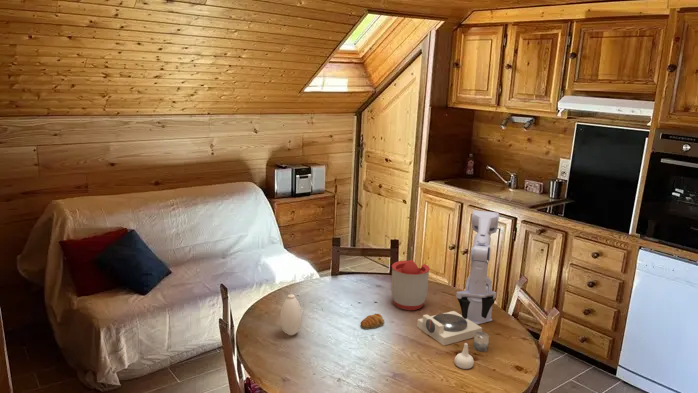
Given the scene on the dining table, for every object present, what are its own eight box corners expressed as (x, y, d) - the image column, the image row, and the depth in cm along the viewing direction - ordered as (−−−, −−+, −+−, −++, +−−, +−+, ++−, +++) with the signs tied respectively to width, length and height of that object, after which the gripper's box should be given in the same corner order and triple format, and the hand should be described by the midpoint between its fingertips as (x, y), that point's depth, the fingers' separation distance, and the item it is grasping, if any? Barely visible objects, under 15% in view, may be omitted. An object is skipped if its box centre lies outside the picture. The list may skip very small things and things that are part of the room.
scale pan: (451, 313, 206) (451, 311, 206) (474, 327, 195) (474, 325, 194) (425, 319, 200) (425, 317, 199) (447, 334, 188) (447, 332, 188)
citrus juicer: (434, 301, 223) (438, 257, 219) (417, 316, 209) (420, 269, 204) (401, 293, 231) (404, 250, 227) (382, 306, 217) (385, 261, 212)
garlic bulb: (460, 372, 171) (464, 351, 168) (450, 361, 176) (453, 341, 174) (476, 369, 173) (480, 348, 171) (465, 358, 179) (469, 338, 176)
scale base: (453, 317, 209) (454, 302, 207) (481, 335, 195) (483, 319, 194) (416, 326, 200) (417, 311, 199) (442, 345, 187) (444, 329, 185)
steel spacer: (480, 343, 189) (482, 330, 188) (490, 349, 185) (492, 336, 184) (470, 346, 187) (471, 333, 186) (480, 352, 183) (481, 339, 182)
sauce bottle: (305, 332, 193) (306, 286, 189) (294, 341, 186) (295, 294, 182) (287, 327, 196) (287, 282, 192) (276, 336, 189) (276, 290, 185)
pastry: (367, 332, 195) (367, 323, 194) (355, 325, 200) (356, 316, 199) (385, 325, 201) (386, 316, 200) (373, 319, 206) (374, 310, 205)
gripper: (464, 283, 175) (461, 322, 176) (502, 282, 179) (498, 321, 181) (454, 277, 182) (451, 315, 183) (491, 277, 186) (487, 314, 187)
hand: (474, 317), depth 182 cm, fingers open, 7 cm apart
